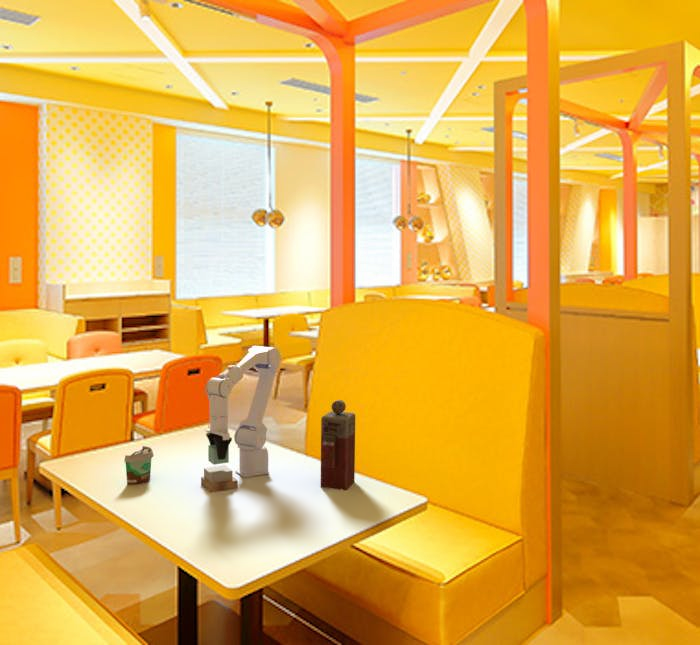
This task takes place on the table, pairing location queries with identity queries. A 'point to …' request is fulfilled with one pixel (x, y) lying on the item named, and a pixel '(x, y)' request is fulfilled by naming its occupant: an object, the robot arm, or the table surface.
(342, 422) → the red grey gas pump
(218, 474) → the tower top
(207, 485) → the tower base
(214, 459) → the teal cube
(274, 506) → the table surface
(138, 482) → the food container
